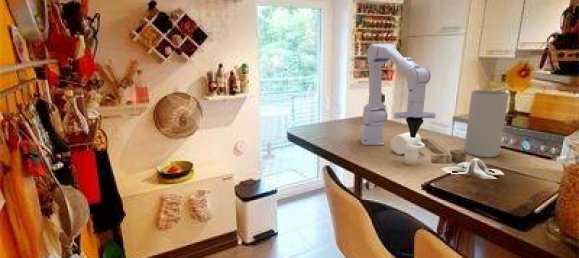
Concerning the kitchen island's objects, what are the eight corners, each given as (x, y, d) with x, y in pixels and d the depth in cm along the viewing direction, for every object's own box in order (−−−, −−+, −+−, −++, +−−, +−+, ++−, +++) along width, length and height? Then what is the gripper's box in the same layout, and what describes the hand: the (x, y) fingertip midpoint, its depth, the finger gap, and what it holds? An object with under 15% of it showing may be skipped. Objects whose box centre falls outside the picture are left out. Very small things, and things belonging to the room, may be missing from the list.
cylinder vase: (498, 150, 136) (508, 91, 130) (499, 160, 126) (509, 95, 120) (464, 146, 143) (472, 89, 136) (463, 154, 132) (471, 93, 126)
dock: (432, 162, 124) (433, 155, 124) (412, 144, 146) (413, 137, 146) (451, 162, 124) (452, 155, 123) (428, 144, 146) (429, 137, 145)
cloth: (433, 174, 115) (435, 158, 113) (456, 161, 127) (458, 146, 125) (505, 195, 99) (508, 176, 97) (523, 178, 110) (527, 161, 109)
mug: (390, 151, 138) (391, 133, 136) (404, 147, 143) (406, 129, 141) (415, 159, 128) (416, 140, 126) (429, 154, 134) (431, 135, 132)
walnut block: (456, 163, 123) (457, 153, 122) (449, 160, 127) (450, 150, 126) (465, 162, 124) (466, 152, 123) (458, 159, 128) (459, 149, 127)
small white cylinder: (406, 164, 123) (407, 152, 122) (402, 160, 128) (403, 147, 126) (419, 164, 123) (420, 152, 121) (415, 160, 127) (416, 147, 126)
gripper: (398, 103, 116) (396, 139, 120) (440, 103, 116) (436, 140, 119) (393, 100, 123) (391, 134, 127) (432, 99, 122) (429, 134, 126)
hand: (412, 136), depth 123 cm, fingers closed
